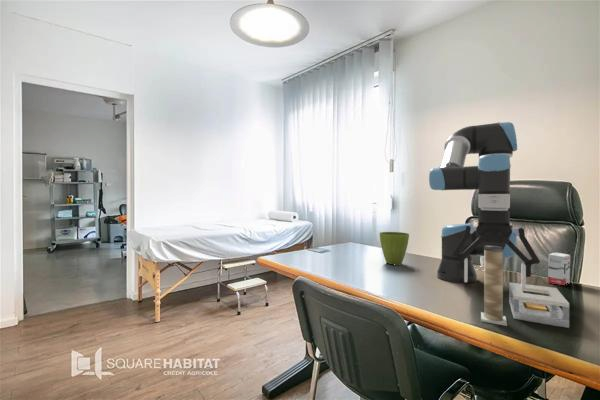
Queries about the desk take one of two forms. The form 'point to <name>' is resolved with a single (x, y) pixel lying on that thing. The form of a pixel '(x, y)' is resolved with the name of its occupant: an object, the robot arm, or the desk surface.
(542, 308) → the breaker button
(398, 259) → the flower pot
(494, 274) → the tan wooden bar
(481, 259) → the figurine
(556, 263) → the ink box
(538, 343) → the desk surface
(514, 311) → the grey slotted box
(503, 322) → the rest pad
